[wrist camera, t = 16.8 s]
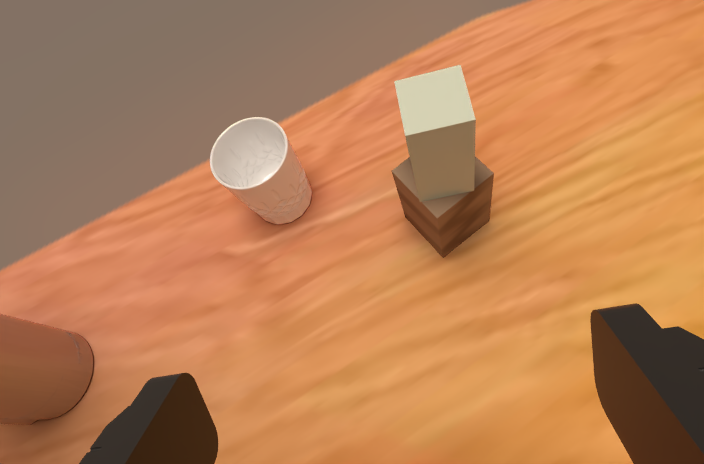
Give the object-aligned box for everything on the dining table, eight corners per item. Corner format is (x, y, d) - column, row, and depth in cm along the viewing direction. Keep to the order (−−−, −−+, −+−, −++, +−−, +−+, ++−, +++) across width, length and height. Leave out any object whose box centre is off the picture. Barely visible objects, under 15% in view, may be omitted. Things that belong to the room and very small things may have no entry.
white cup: (278, 156, 57) (242, 105, 48) (330, 184, 54) (303, 135, 45) (238, 210, 56) (194, 167, 47) (290, 241, 53) (253, 202, 44)
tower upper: (440, 240, 44) (437, 218, 39) (399, 196, 47) (391, 171, 42) (491, 199, 44) (493, 173, 40) (447, 158, 47) (445, 129, 42)
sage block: (474, 190, 40) (475, 119, 31) (419, 202, 40) (405, 135, 31) (462, 144, 42) (460, 64, 32) (410, 156, 42) (394, 81, 33)
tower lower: (443, 257, 49) (440, 240, 44) (405, 216, 51) (399, 196, 47) (489, 220, 49) (491, 199, 44) (449, 182, 51) (447, 158, 47)
